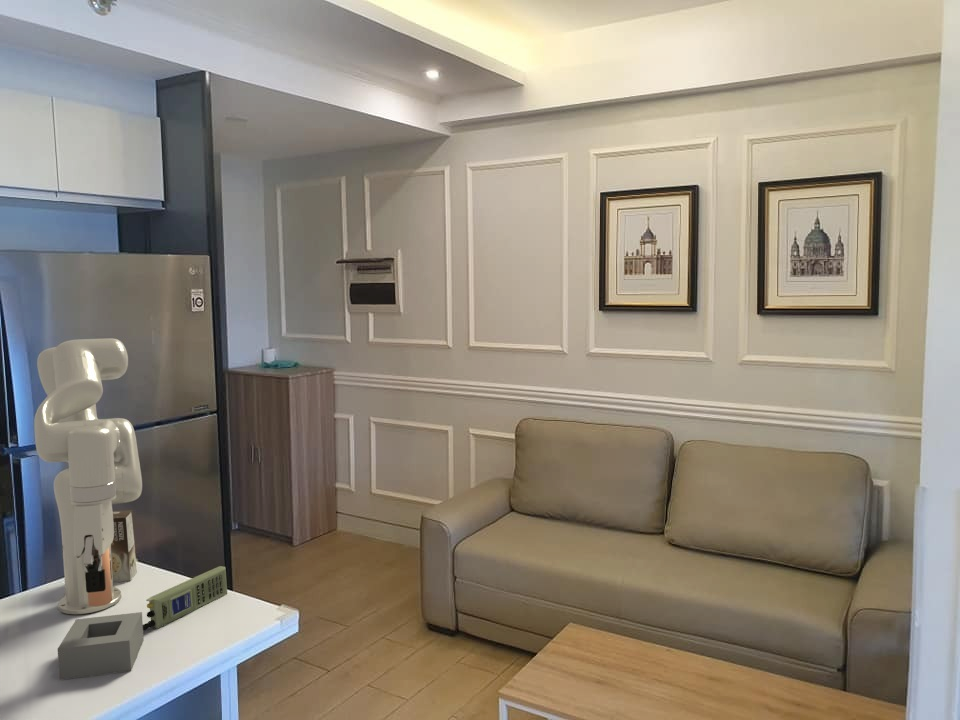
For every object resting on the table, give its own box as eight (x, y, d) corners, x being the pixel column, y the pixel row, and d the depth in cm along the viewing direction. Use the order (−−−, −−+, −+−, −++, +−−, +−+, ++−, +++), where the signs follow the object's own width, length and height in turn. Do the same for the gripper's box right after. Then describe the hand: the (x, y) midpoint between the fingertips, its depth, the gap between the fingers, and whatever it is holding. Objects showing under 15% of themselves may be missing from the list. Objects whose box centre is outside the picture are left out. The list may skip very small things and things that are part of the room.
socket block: (78, 648, 143) (76, 619, 142) (143, 640, 146) (141, 612, 146) (59, 680, 132) (57, 648, 131) (131, 670, 135) (129, 640, 134)
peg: (91, 599, 139) (87, 538, 138) (114, 596, 140) (110, 536, 139) (85, 607, 135) (82, 545, 134) (109, 605, 136) (105, 543, 135)
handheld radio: (229, 594, 168) (135, 642, 146) (219, 592, 170) (125, 639, 147) (227, 567, 168) (133, 610, 145) (217, 565, 169) (122, 607, 147)
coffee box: (137, 571, 182) (134, 509, 180) (130, 581, 175) (127, 517, 174) (98, 574, 180) (94, 511, 178) (89, 584, 173) (85, 519, 172)
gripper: (83, 482, 142) (89, 572, 144) (57, 506, 126) (64, 607, 128) (125, 479, 144) (130, 568, 146) (104, 503, 128) (110, 602, 130)
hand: (99, 585), depth 137 cm, fingers closed on peg, 4 cm apart
